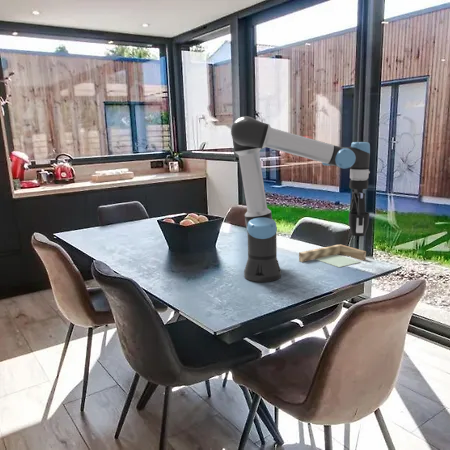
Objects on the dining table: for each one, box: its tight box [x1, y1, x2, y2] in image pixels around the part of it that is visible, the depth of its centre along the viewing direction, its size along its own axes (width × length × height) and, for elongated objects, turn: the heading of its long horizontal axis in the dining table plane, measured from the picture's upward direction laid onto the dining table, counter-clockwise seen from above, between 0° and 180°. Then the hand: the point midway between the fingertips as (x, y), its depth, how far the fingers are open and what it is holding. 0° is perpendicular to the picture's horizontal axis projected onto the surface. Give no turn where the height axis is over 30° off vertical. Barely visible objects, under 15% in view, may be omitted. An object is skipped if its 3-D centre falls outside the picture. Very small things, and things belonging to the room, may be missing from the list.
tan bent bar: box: [298, 243, 367, 263], centre depth 196 cm, size 26×16×4 cm, turn 120°
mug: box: [348, 211, 370, 237], centre depth 185 cm, size 8×12×10 cm
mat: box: [314, 254, 361, 268], centre depth 195 cm, size 13×15×1 cm
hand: (356, 229), depth 186 cm, fingers closed on mug, 12 cm apart
